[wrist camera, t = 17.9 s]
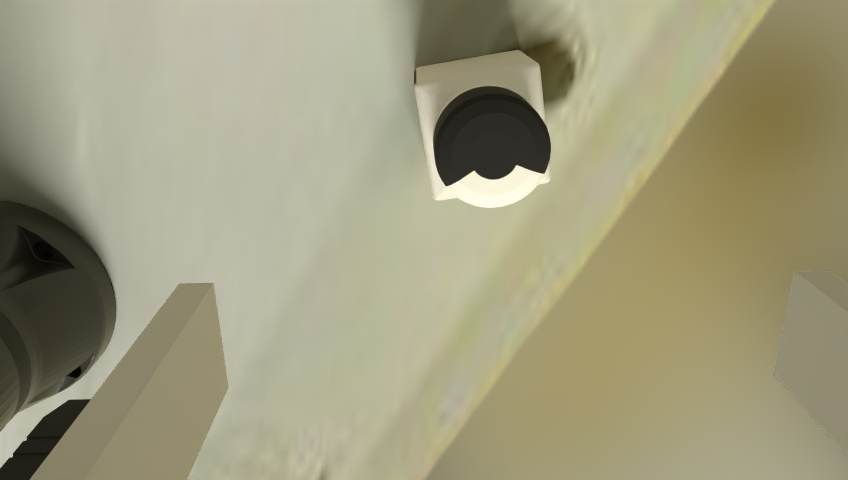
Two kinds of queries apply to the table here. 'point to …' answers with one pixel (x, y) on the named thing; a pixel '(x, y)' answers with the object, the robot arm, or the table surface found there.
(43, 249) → the robot arm
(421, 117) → the medicine bottle
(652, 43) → the table surface
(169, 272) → the table surface
